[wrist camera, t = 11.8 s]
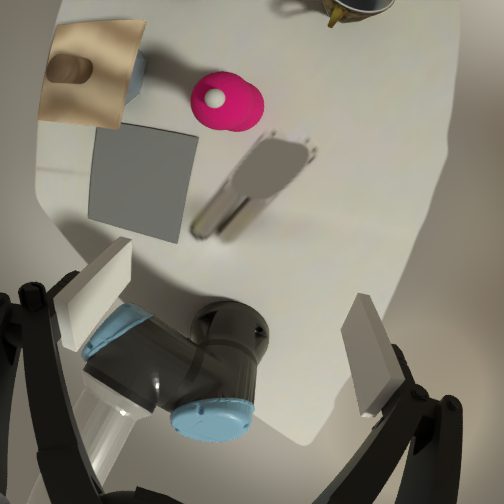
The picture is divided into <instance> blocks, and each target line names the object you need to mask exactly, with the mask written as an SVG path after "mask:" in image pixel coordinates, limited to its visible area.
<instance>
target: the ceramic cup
mask: <svg viewBox="0 0 504 504" xmlns="http://www.w3.org/2000/svg"><path fill="white" fill-rule="evenodd" d="M394 1H395V0H322V3H323V6H324V8H325V10H326V13H327V15H328V16H330V17H331V18H330V21H329V23H328V27H330V28H332V27H333V26H334V25H335V24H336V23H337V22H338V21H339V22H341V23H349V22H358V21H361V20H363V19H366V18H368V17H370V16H374V15H377V14H379V13H382V12H383V11H385V10H387V9H388V8H390V7H391V6H392V4H393V3H394Z"/></svg>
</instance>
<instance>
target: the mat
mask: <svg viewBox="0 0 504 504" xmlns="http://www.w3.org/2000/svg"><path fill="white" fill-rule="evenodd" d="M198 139H199V138H198V137H193V136H189V135H184V134H179V133H174V132H169V131H164V130H158V129H153V128H147V127H141V126H135V125H129V124H122V123H121V125H120V129H116V130H115V129H109V128H102V127H97V134H96V141H95V148H94V156H93V164H92V174H91V185H90V199H89V218H88V219H92V220H95V221H98V222H102V223H105V224H109V225H112V226H116V227H119V228H123V229H126V230H130V231H133V232H137V233H140V234H144V235H147V236H151V237H154V238H158V239H161V240H165V241H168V242H172V243H175V244H177V243H178V238H179V233H180V227H181V221H182V216H183V211H184V205H185V200H186V195H187V190H188V185H189V180H190V175H191V171H192V166H193V161H194V157H195V152H196V148H197V144H198Z"/></svg>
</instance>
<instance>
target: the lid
mask: <svg viewBox="0 0 504 504" xmlns="http://www.w3.org/2000/svg"><path fill="white" fill-rule="evenodd" d="M146 23H147V22H146V21H144V20H108V21H93V22H82V23H72V24H64V25H58V27H57V30H56V33H55V37H54V40H53V44H52V47H51V51H50V55H49V59H48V63H47V67H46V72H45V77H44V82H43V87H42V92H41V98H40V104H39V111H38V118H37V120H41V121H52V122H62V123H71V124H80V125H87V126H95V127H102V128H109V129H115V130H116V129H120V125H121V120H122V115H123V110H124V105H125V100H126V96H127V91H128V87H129V83H130V79H131V74H132V71H133V67H134V63H135V59H136V56H137V52H138V49H139V45H140V42H141V39H142V35H143V32H144V29H145V26H146Z"/></svg>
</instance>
